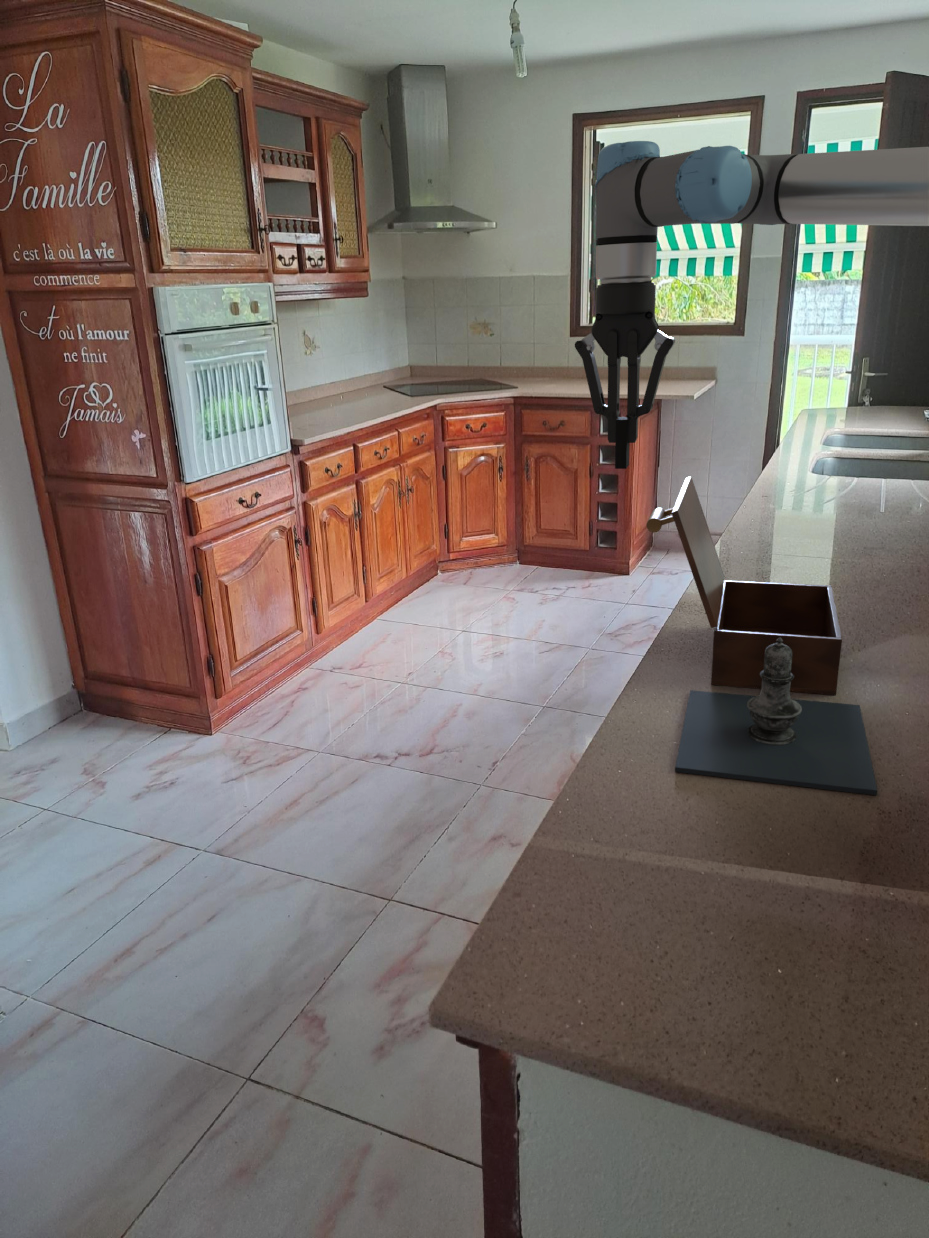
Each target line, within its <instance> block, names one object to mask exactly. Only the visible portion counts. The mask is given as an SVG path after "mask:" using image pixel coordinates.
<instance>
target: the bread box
mask: <svg viewBox="0 0 929 1238" xmlns="http://www.w3.org/2000/svg"><path fill="white" fill-rule="evenodd" d="M837 611H838V610H837V607H836V602H835V596H834V592H833V586H832V585H824V584H804V583H785V582H767V581H766V582H765V581H747V580H746V581H745V580H725V579H724V584H723V591H722V597H721V604H720V610H719V617H718V624H717V627H714V628H713V640H712V659H711V660H712V661H711V674H710V675H711V677H710V685H711V686H720V687H731V688H732V687H734V688H747V689H756V690H758V689H759V690H761V689H762V678H761V676H760V672H761V671H763V670H764V660H765V650H766V648H767V647H768V646H769V645H771V644H775V643H777V641H776V640H777V639H778V638H779V637H781V638H782V640H783V641H782V643H783V644H785V645H787V646H788V647H790V649H791V650H792V664H791V673H792V674H793V675H794V679H793V680H792V681H791V684H790V693H791V692H793V693H802V694H814V695H815V694H816V695H828V696H837V690H838V680H839V671H840V663H841V653H842V644H843V637H842V632H841V628H840V622H839V617H838V612H837Z"/></svg>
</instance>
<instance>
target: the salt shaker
mask: <svg viewBox="0 0 929 1238" xmlns="http://www.w3.org/2000/svg"><path fill="white" fill-rule="evenodd" d="M776 641H777V643H775V644H771V645H769V646H768V647H767V648H766V650H765V660H764V670H763V671H761V672H760V676H761V678H762V689H760V693H759V695H755V696H756V697H753V698H751V699H750V700H749V701H748V702H747V707H748V709H749V710H750V715H751V718H752V720H753V721H754V722H755V723H756V724H754V725H752V726H750V727H749V729H748V734H749V736H750V737H751V738H752V739H754V740H756V741H758V742H761V743H764V744H769V745H785V744H789V743H792V742H793V741H795V739H796V733H795V731H794V730H792V729H791V728H790V727H791V726H793V725H794V723H795V722H796V720H797V718H798V715H799V714H800V713H801V711H802V707H801V706H800V704H799V703H797V702H796V701H794V700H792V699H793V698H792V697H791V691H790V684H791V681H792V680H793V679H794V675H793V674H792V673H791V664H792V650H791V649H790V647H788V646H787V645H785V644H783V643H782V641H783V640H782V638H781V637H779V638H778V639H777V640H776Z"/></svg>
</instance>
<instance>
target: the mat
mask: <svg viewBox="0 0 929 1238" xmlns="http://www.w3.org/2000/svg"><path fill="white" fill-rule="evenodd" d="M756 696H757V695H749V694H740V693H739V694H737V693H727V692H716V691H704V690H693V689H690V691H689V694H688V699H687V705H686V710H685V715H684V721H683V724H682V730H681V736H680V741H679V745H678V746H679V747H678V752H677V756H676V762H675V768H674V771H675V773H681V774H690V775H697V776H698V775H699V776H707V777H714V778H715V777H716V778H723V779H732V780H741V781H749V782H758V783H759V782H760V783H765V784H774V785H775V784H776V785H784V786H794V787H802V788H811V789H819V790H827V791H835V792H844V793H853V794H861V795H871V796H877V795H878V786H877V782H876V778H875V773H874V768H873V762H872V758H871V753H870V749H869V744H868V739H867V735H866V730H865V725H864V720H863V715H862V710H861V705H860V704H851V703H841V702H832V701H831V702H829V701H819V700H818V701H817V700H807V699H806V700H805V699H796V698H795V699H794V698H791V699H792V700H794V701H796V702H797V703H799V704H800V706H801V707H802V711H801V713H800V714H799V715H798V718H797V720H796V722H795V723H794V725H793V726H791V727H790V728H791V729H792V730H794V731H795V733H796V739H795V741H793V742H792V743H789V744H785V745H769V744H764V743H761V742H758V741H756V740H754V739H752V738H751V737H750V736H749V734H748V729H749V727H750V726H752V725H754V724H756V723H755V722H754V721H753V720H752V718H751V715H750V710H749V709H748V707H747V702H748V701H749V700H750V699H751V698H753V697H756Z"/></svg>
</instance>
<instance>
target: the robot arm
mask: <svg viewBox="0 0 929 1238" xmlns="http://www.w3.org/2000/svg"><path fill="white" fill-rule="evenodd" d="M660 149H661V148H660V147H659V144H658V143H657V142H654V141H649V140H631V141H625V142H624V141H623V142H616V143H611V144H607V145H604V147H602V148H601V150H600V151H599V152H598V156H597V166H596V180H595V184H594V187H595V188H594V189H595V200H596V202H595V204H596V209H595V210H596V214H595V215H596V217H595V218H596V230H595V231H596V233H595V234H596V240H595V245H596V246H595V279H596V280H599V283H600V284H597V287H595V318H594V322H593V324H592V326H591V329H590V331H591V332H590V333H588V334H587V335H586V336H585V337H584V336H583V338H581V339H578V340H577V341H575V343H574V348H575V351H576V352H577V353H578V354H579V357H580V358H581V359H582V364H583V368H584V373H585V376H586V377H585V378H586V381H587V385H588V391H589V394H590V399H591V404H592V407H593V411H594V413H595V414H597V415H601V416H603V417H605V418H606V419H607V441H608V443H610V444H615V447H614V448H615V450H614V451H615V453H614V469H615V470H626V469H627V468H628V467H629V466H630V444H635V443H636V442H637V441H638V437H639V436H638V435H639V418H640V417H641V416H644V415H648V414H649V413H650V412H651V411H652V410H653V407H654V403H655V399H656V396H657V392H658V389H659V385H660V381H661V377H662V373H663V370H664V366H665V362H666V359H667V356H668V354H669V352H670V351H671V350H672V349H673V347H674V345H675V343H676V339H675V337H673V336H668V335H667V334H665V333H664V332H663V331H661V330H659V329H660V328H659V324H658V321H657V319H656V291H657V290H656V289H657V288H656V287H657V285H656V284H655V282H654V281H653V280H652V278H655V276H657V254H658V253H657V252H658V233H659V232H658V231H659V228H663V227H669V226H682V225H716V224H717V225H723V224H724V225H726V224H727V225H728V224H729V225H734V224H737V225H738V224H740V225H741V224H742V225H743V224H744V225H762V226H763V225H765V226H775V225H776V226H777V225H829V226H830V225H831V226H833V225H834V226H835V225H836V226H838V225H839V226H894V227H895V226H898V227H899V226H903V227H929V146H919V147H917V146H916V147H899V148H881V149H863V150H847V151H846V150H845V151H829V152H828V151H827V152H811V153H809V152H808V153H786V154H784V153H783V154H746V153H745V154H744V153H742V152H741V149H739V148H738V147H736V146H733V145H722V146H710V145H707V146H703V147H700V148H699V149H695V150H690V151H685V152H680V153H675V154H670V155H665V156H661V151H660ZM653 340H654V341H655V342H654V349H655V351H656V353H655V355H654V359H653V361H652V366H651V370H650V372H649V378H648V381H647V385H646V389H645V392H644V396H643V400H642V403H641V404H640V374H641V373H640V369H641V355H643V353H644V352H645V351H646V350H647V348H648V347H649V345H650V344H651V343H652V341H653ZM595 342H596V343H597V344H598V346H599V347H600V349H601V350H602V352H603V353H604V355H606V356H607V404H606V400H605V396H604V391H603V387H602V383H601V377H600V374H599V369H598V365H597V360H596V356H595V353H594V351H595V350H596V345H595ZM622 357H623V358H626V359H627V394H626V395H627V397H626V399H627V401H626V415H625V416H620V413H621V410H620V400H621V399H620V397H621V396H620V395H621V394H620V393H621V392H620V390H621V362H622Z"/></svg>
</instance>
